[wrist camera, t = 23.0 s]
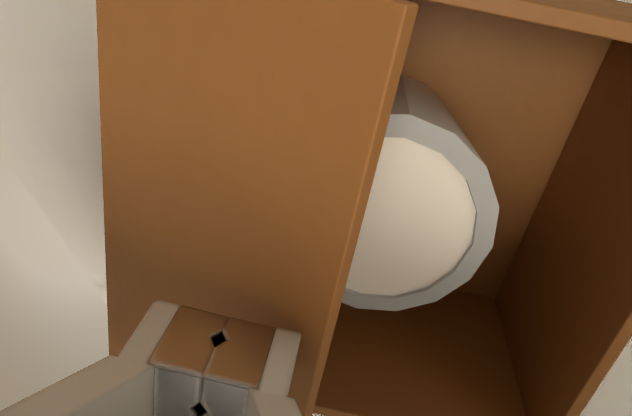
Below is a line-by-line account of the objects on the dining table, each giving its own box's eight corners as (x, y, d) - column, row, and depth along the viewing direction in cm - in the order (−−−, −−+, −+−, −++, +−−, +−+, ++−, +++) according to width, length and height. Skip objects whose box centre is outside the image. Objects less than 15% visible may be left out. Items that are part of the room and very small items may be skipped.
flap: (282, 530, 14) (272, 542, 14) (120, 378, 17) (109, 384, 17) (420, 3, 7) (407, 4, 7) (110, -81, 10) (92, -84, 10)
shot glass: (506, 121, 20) (554, 203, 14) (400, 238, 23) (402, 346, 17) (364, 20, 19) (350, 62, 13) (274, 157, 22) (229, 242, 16)
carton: (498, 300, 25) (545, 468, 17) (205, 234, 25) (122, 368, 18) (635, 4, 18) (814, 60, 10) (230, -79, 19) (113, -86, 11)
